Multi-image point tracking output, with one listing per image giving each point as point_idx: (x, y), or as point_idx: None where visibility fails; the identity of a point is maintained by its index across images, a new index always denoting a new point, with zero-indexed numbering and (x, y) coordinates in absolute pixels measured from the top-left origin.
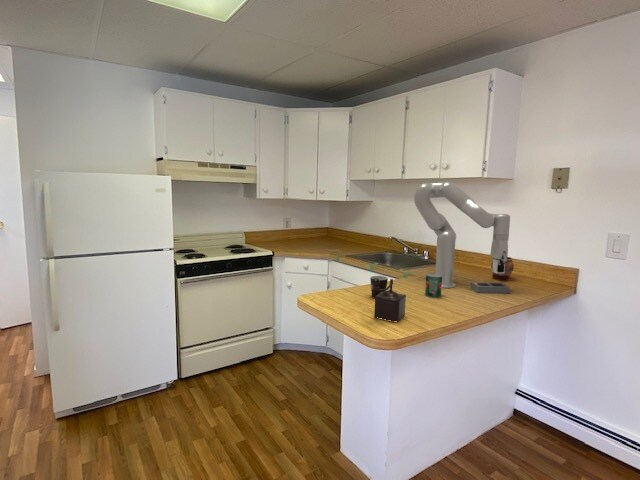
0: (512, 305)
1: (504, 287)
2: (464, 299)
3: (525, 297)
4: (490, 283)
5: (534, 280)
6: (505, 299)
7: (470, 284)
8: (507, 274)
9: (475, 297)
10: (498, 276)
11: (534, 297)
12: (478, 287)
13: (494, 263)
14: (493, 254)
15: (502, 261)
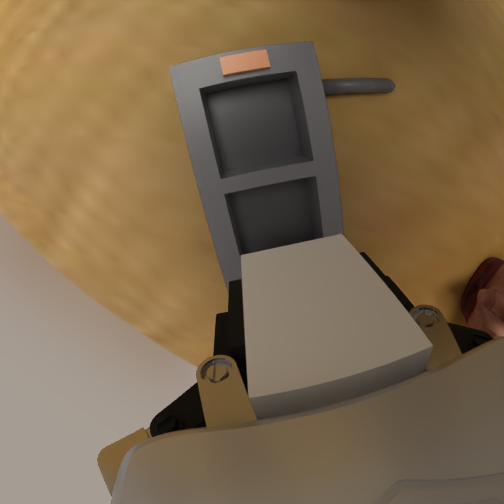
0: (29, 241)
1: (221, 266)
2: (43, 31)
3: (183, 329)
4: (318, 191)
5: None
6: (98, 229)
7: (380, 78)
8: (472, 323)
9: (81, 70)
10: (482, 282)
11: (201, 359)
12: (172, 76)
13: (333, 314)
14: (431, 455)
15: (151, 434)
